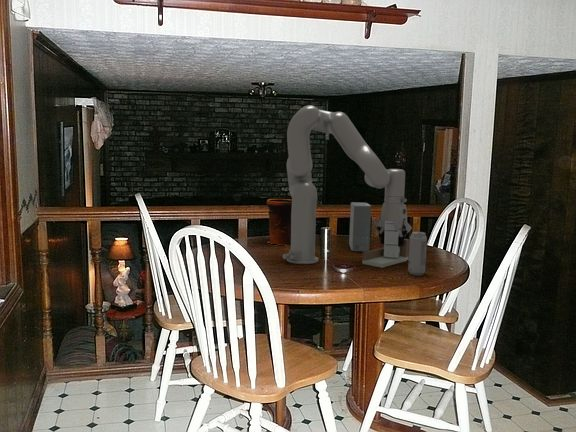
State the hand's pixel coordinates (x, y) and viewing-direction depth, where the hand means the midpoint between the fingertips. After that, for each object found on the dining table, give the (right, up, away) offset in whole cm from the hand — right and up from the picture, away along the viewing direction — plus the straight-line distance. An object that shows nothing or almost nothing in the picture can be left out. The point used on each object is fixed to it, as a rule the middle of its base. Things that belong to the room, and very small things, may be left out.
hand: (392, 244), depth 219 cm
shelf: (-3, -7, -1) cm, 7 cm away
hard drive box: (-10, -3, +25) cm, 27 cm away
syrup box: (0, -5, +1) cm, 5 cm away
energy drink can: (+5, -10, -20) cm, 23 cm away
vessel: (-44, -1, +35) cm, 57 cm away
